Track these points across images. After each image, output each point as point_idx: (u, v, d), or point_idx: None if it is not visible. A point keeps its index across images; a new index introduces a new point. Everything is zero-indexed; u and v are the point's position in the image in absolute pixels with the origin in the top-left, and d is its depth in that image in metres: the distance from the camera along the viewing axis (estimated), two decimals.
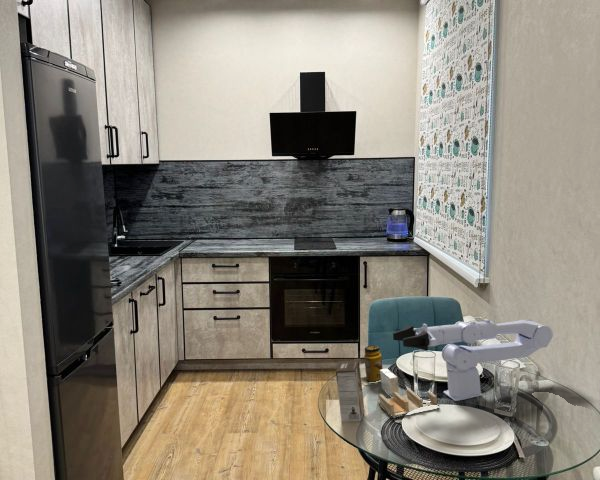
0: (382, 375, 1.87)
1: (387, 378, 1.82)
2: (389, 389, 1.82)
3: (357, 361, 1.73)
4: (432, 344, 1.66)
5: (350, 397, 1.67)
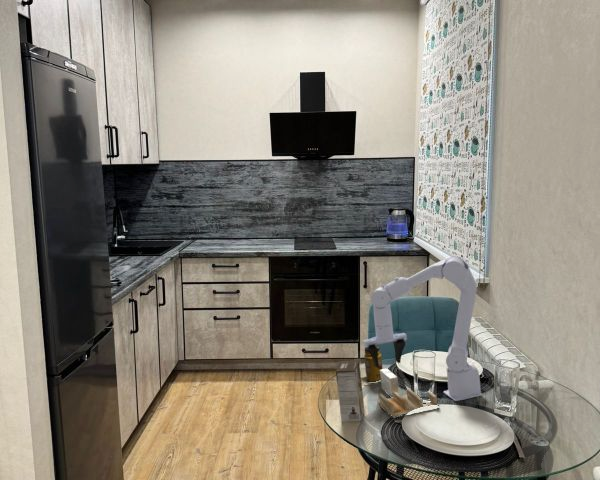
0: (382, 375, 1.87)
1: (387, 378, 1.82)
2: (389, 389, 1.82)
3: (357, 361, 1.73)
4: (364, 345, 1.81)
5: (350, 397, 1.67)
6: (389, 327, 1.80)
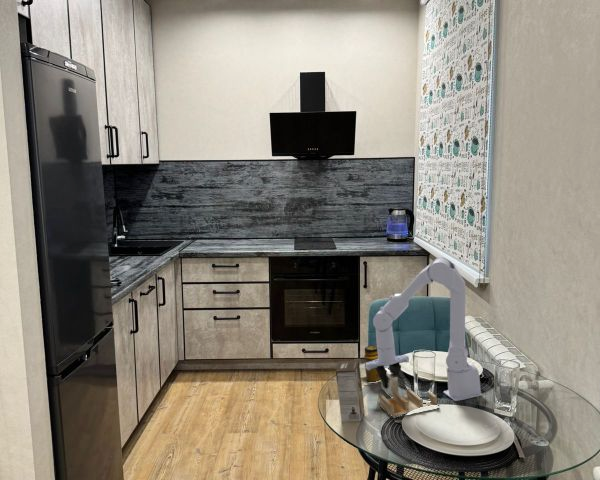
0: None
1: (387, 378, 1.82)
2: (389, 389, 1.82)
3: (357, 361, 1.73)
4: (367, 368, 1.82)
5: (350, 397, 1.67)
6: (391, 350, 1.81)
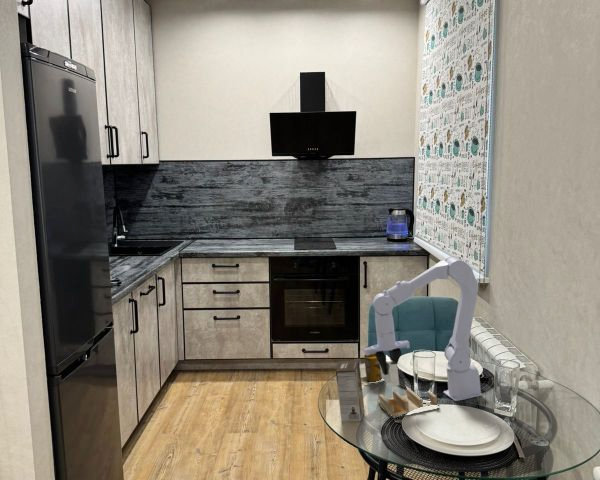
0: None
1: (386, 365, 1.76)
2: (389, 376, 1.75)
3: (357, 361, 1.73)
4: (365, 353, 1.75)
5: (350, 397, 1.67)
6: (391, 334, 1.74)
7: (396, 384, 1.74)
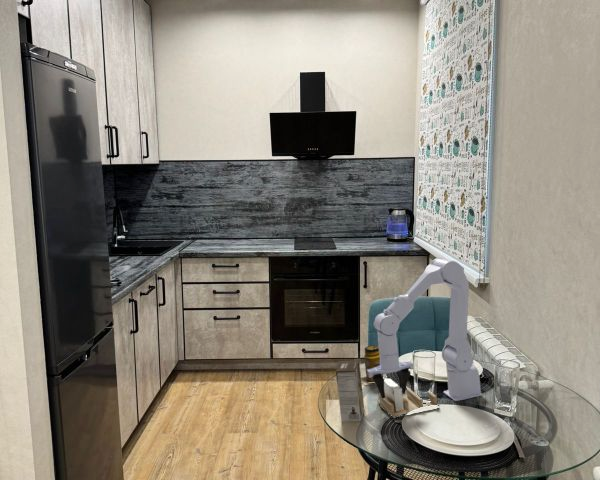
0: (385, 386, 1.74)
1: (390, 389, 1.70)
2: (393, 401, 1.69)
3: (357, 361, 1.73)
4: (368, 375, 1.69)
5: (350, 397, 1.67)
6: (395, 356, 1.68)
7: (400, 409, 1.68)
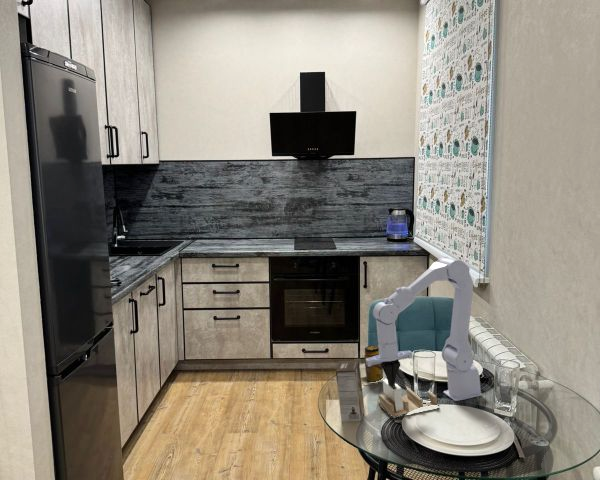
0: (385, 386, 1.74)
1: (390, 389, 1.70)
2: (393, 401, 1.69)
3: (357, 361, 1.73)
4: (367, 364, 1.69)
5: (350, 397, 1.67)
6: (393, 345, 1.68)
7: (400, 409, 1.68)
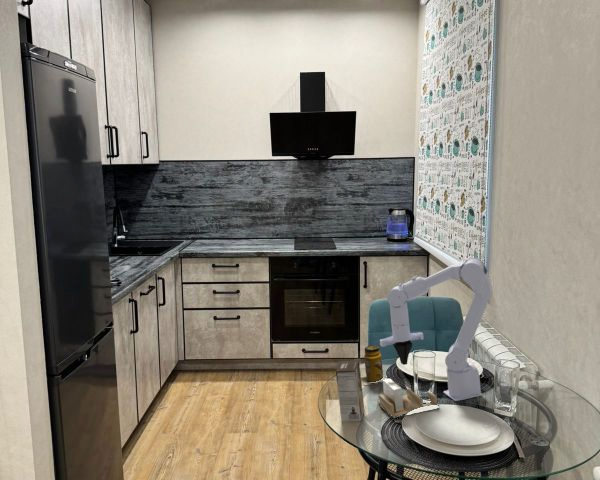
0: (385, 386, 1.74)
1: (390, 389, 1.70)
2: (393, 401, 1.69)
3: (357, 361, 1.73)
4: (381, 345, 1.80)
5: (350, 397, 1.67)
6: (406, 326, 1.79)
7: (400, 409, 1.68)
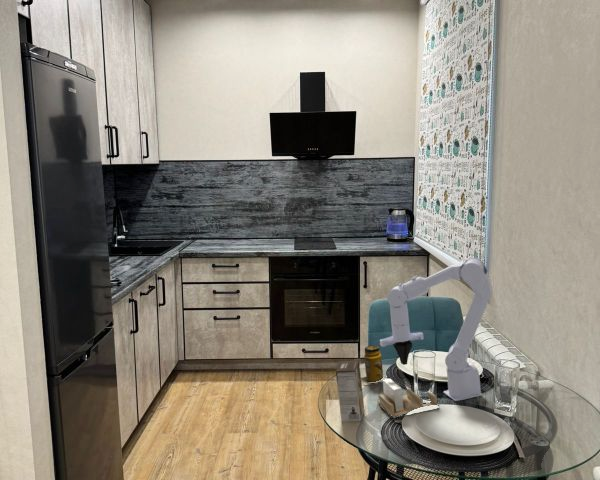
0: (385, 386, 1.74)
1: (390, 389, 1.70)
2: (393, 401, 1.69)
3: (357, 361, 1.73)
4: (381, 345, 1.80)
5: (350, 397, 1.67)
6: (406, 326, 1.79)
7: (400, 409, 1.68)
